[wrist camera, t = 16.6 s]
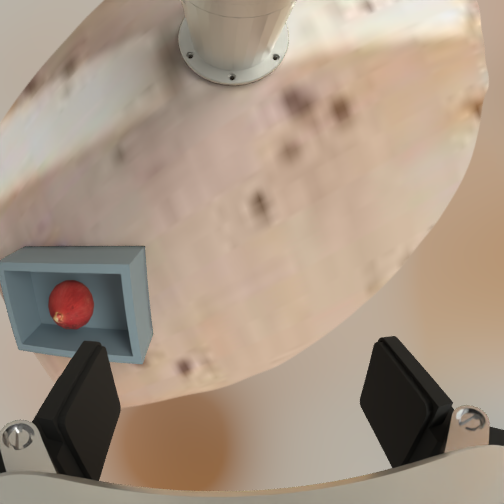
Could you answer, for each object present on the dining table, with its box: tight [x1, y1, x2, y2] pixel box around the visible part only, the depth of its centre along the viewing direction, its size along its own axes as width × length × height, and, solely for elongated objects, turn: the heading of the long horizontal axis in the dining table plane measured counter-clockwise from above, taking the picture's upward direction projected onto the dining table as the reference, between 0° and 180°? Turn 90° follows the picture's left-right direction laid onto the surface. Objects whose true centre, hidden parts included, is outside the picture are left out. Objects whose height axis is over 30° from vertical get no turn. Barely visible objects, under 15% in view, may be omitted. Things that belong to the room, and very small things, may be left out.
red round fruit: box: [48, 280, 94, 329], centre depth 33 cm, size 6×6×8 cm
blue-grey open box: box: [0, 246, 153, 364], centre depth 35 cm, size 12×18×7 cm, turn 88°
